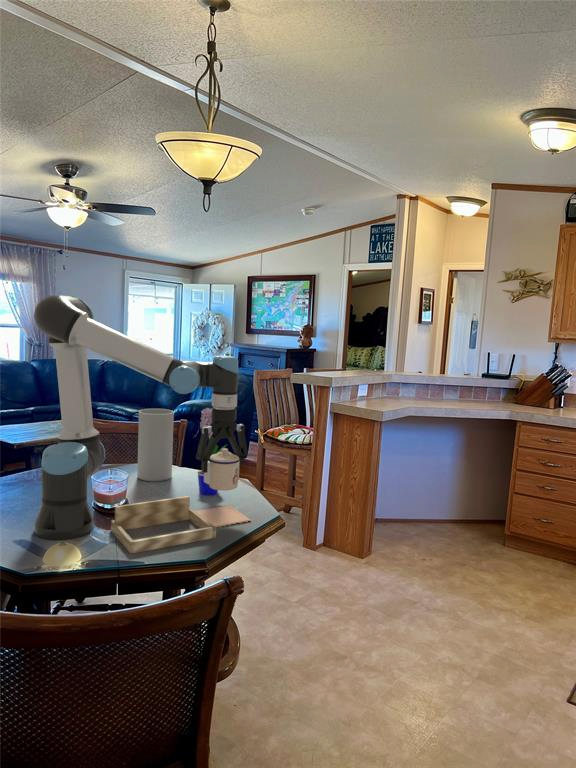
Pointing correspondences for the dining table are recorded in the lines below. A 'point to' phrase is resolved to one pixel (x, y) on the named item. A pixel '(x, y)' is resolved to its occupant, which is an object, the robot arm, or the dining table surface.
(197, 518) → the frame
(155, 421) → the cylinder vase
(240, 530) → the dining table surface
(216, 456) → the teacup with lid
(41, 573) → the dining table surface
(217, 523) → the terracotta tile
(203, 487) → the hyacinth
